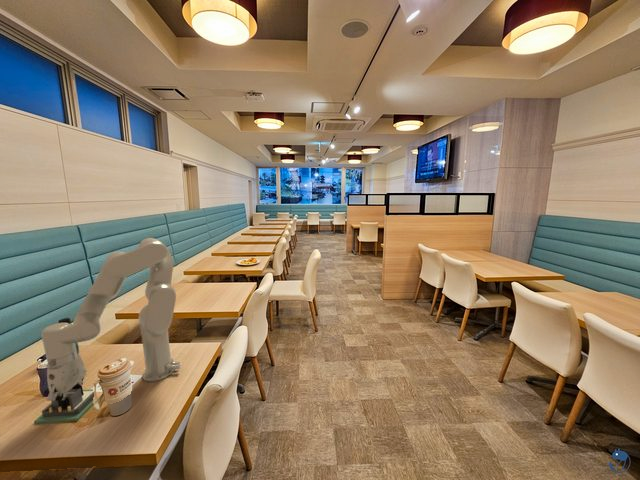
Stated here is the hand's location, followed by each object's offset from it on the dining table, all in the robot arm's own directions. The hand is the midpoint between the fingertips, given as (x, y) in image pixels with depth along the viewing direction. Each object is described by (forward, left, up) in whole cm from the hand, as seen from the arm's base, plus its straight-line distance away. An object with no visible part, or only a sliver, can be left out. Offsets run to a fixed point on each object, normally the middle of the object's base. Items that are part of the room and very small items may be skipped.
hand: (71, 401), depth 95 cm
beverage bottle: (+26, -31, -2) cm, 41 cm away
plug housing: (+1, 0, -1) cm, 2 cm away
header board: (0, 0, -2) cm, 2 cm away
